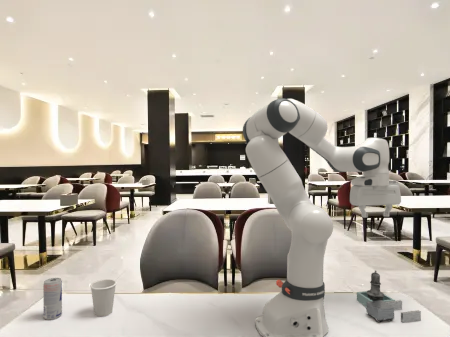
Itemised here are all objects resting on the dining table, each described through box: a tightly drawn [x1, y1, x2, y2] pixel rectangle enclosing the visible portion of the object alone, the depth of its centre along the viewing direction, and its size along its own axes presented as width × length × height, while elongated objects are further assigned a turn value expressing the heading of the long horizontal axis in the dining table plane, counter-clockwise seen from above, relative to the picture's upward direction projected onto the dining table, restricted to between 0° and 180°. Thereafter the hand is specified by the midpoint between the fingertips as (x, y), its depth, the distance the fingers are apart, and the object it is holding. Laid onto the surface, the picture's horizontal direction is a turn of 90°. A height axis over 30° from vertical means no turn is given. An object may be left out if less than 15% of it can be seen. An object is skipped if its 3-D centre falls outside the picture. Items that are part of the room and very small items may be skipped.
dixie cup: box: [89, 279, 117, 318], centre depth 106 cm, size 8×8×10 cm
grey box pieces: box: [366, 299, 422, 324], centre depth 105 cm, size 15×9×4 cm, turn 103°
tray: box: [356, 290, 396, 308], centre depth 114 cm, size 9×9×3 cm
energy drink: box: [42, 277, 63, 321], centre depth 104 cm, size 5×5×12 cm
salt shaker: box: [366, 270, 385, 301], centre depth 113 cm, size 6×6×12 cm
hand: (375, 216), depth 119 cm, fingers open, 8 cm apart
